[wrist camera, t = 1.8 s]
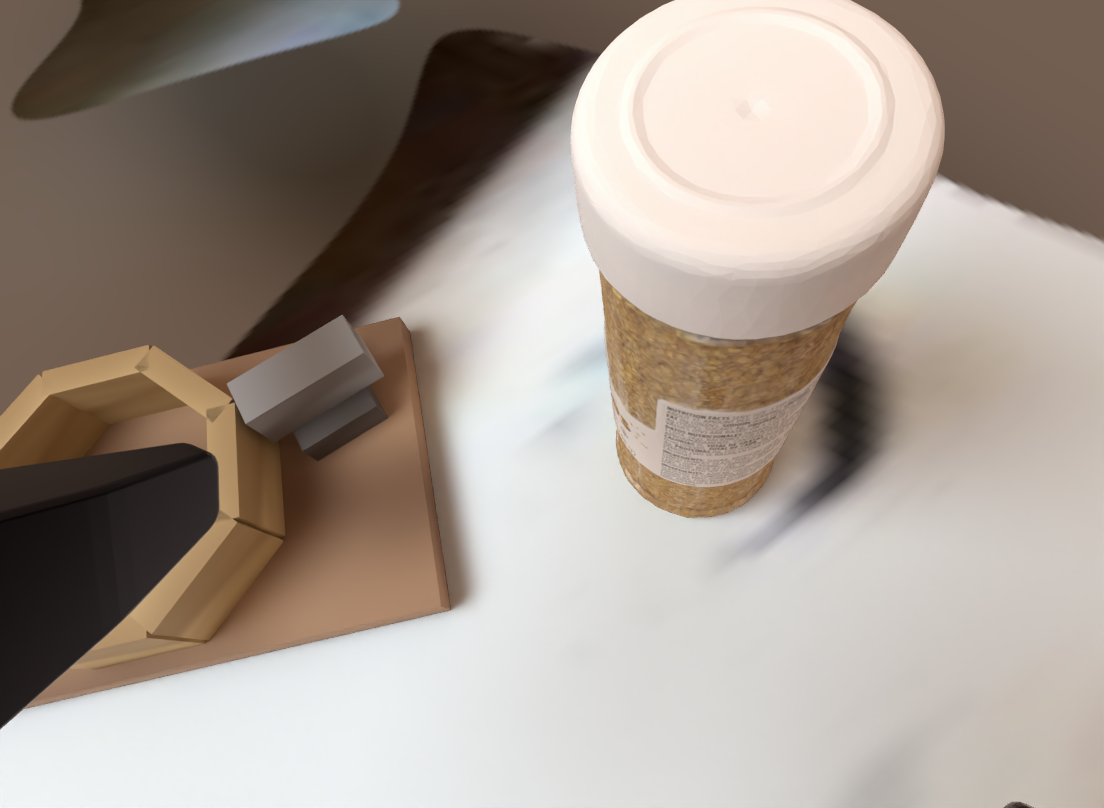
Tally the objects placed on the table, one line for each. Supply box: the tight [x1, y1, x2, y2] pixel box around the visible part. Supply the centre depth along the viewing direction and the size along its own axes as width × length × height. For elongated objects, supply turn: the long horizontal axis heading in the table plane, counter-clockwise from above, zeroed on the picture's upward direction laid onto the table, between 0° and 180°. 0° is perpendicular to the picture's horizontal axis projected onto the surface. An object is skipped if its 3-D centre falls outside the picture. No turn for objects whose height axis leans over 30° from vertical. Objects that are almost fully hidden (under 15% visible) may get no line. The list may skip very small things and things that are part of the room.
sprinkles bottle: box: [571, 0, 945, 518], centre depth 15 cm, size 5×4×13 cm
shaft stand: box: [0, 315, 451, 709], centre depth 21 cm, size 9×16×4 cm, turn 102°
